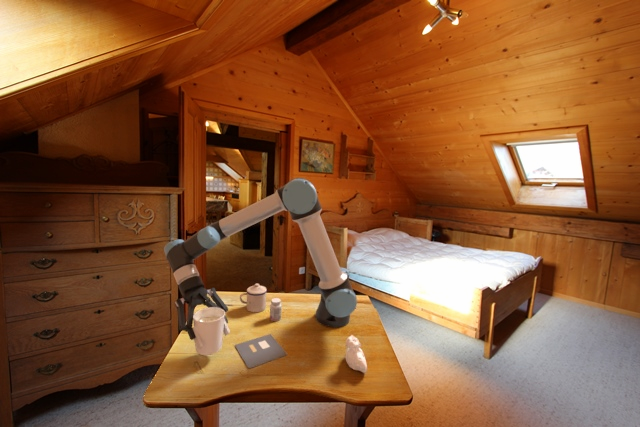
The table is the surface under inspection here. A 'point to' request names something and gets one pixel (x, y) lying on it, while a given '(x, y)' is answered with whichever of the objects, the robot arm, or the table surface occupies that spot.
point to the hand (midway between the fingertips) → (214, 340)
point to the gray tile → (260, 351)
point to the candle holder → (209, 329)
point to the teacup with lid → (255, 298)
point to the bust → (355, 355)
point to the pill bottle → (275, 309)
